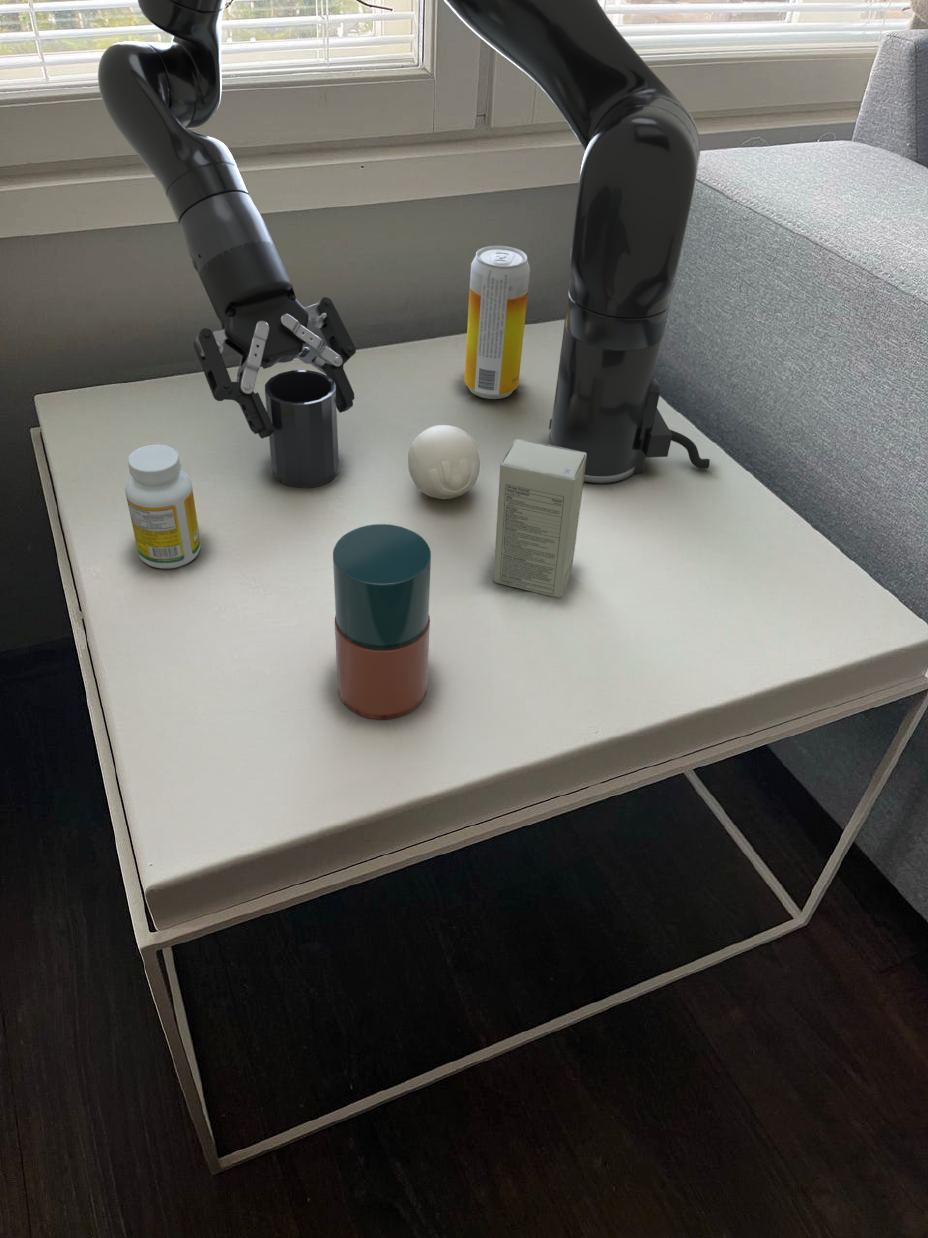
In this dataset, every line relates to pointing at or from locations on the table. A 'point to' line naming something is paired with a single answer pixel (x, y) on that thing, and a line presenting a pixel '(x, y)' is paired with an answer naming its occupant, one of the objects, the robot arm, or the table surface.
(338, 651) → the teal and red cylinder
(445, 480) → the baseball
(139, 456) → the supplement bottle
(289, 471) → the cup
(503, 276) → the beer can
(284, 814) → the table surface
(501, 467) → the cosmetic box
